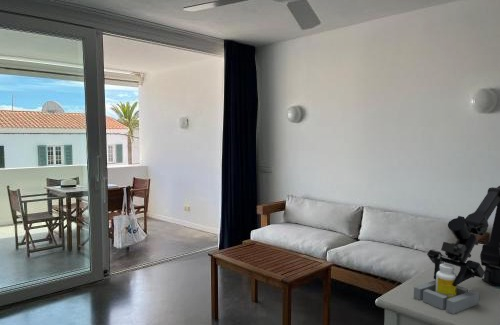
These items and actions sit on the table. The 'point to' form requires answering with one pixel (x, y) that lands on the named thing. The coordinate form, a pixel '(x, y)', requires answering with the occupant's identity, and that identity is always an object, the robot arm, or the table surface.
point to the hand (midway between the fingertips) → (443, 282)
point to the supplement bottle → (446, 281)
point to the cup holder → (441, 301)
